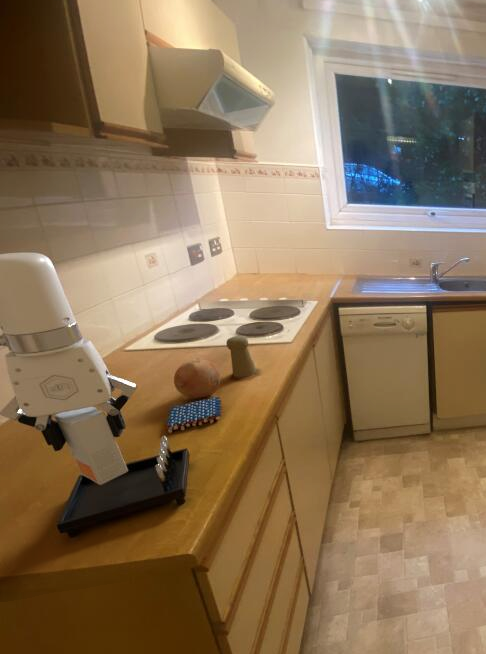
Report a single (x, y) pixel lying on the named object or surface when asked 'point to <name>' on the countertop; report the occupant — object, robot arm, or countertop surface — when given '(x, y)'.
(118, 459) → the cosmetic box
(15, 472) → the countertop surface
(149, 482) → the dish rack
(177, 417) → the woven mat
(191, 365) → the onion
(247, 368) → the pepper mill
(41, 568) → the countertop surface
